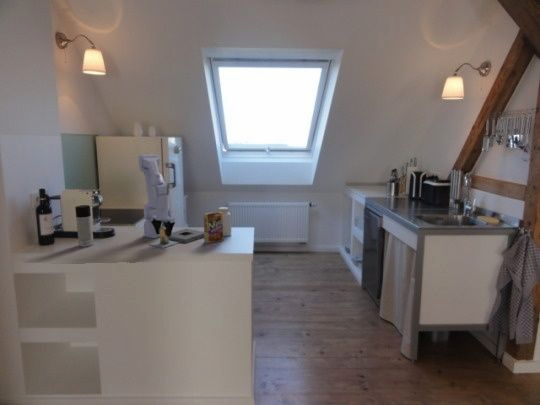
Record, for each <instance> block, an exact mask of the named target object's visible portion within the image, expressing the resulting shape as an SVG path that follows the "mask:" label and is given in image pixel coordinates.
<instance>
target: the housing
mask: <svg viewBox="0 0 540 405" xmlns="http://www.w3.org/2000/svg"><path fill="white" fill-rule="evenodd" d="M199 239H200V240H201V239H204V231H200V230H196V229H190V228H183V229H180V230H176V231H172V233H171V236H169V241H174V242H179V243H184V244H187V243H190V242H194V241H196V240H199Z"/></svg>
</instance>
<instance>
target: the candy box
mask: <svg viewBox="0 0 540 405" xmlns="http://www.w3.org/2000/svg"><path fill="white" fill-rule="evenodd" d="M203 232H204V237H203V240H204V243H206V244H211V243H217V242H223V241H224V236H223V214H222V212H220V211H219V210H218V211H212V212H211V211H210V212H203Z"/></svg>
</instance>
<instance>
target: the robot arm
mask: <svg viewBox="0 0 540 405" xmlns="http://www.w3.org/2000/svg"><path fill="white" fill-rule="evenodd" d="M160 161H161V160H160V156H159V155H158V153H157V154H140V155H139V156H138V165H139V170H140V172H142V173H143V175H144V181H145V187H146V188H145V189H146V195H147V203H146V204H145V205H144V206H143V218H144V223H143V235H142V236H143V237H145V238H150V239H158V238H160V232H159V228H160V227H165V228H166V235H167V237H169V236H171V233H173V228H174V226H175V224H176V221H175V218H174V217H171V216H169V201H168V200H169V199H168V196H169V193H170V190H169V185H168V183H166V182H165V178H164V177H163V175H162V174H161V173H160V172H159V167H160V164H161V163H160ZM162 222H164V223H163V224H162ZM163 225H164V226H163Z"/></svg>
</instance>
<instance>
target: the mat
mask: <svg viewBox="0 0 540 405" xmlns="http://www.w3.org/2000/svg"><path fill="white" fill-rule="evenodd" d="M177 244H180V242H178V241H173V240H169V244H160V240H159V241H156V242H153V243H149V246H152V247H156V248H161V249H165V247H166V248H168V247H171V246H174V245H177Z"/></svg>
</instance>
